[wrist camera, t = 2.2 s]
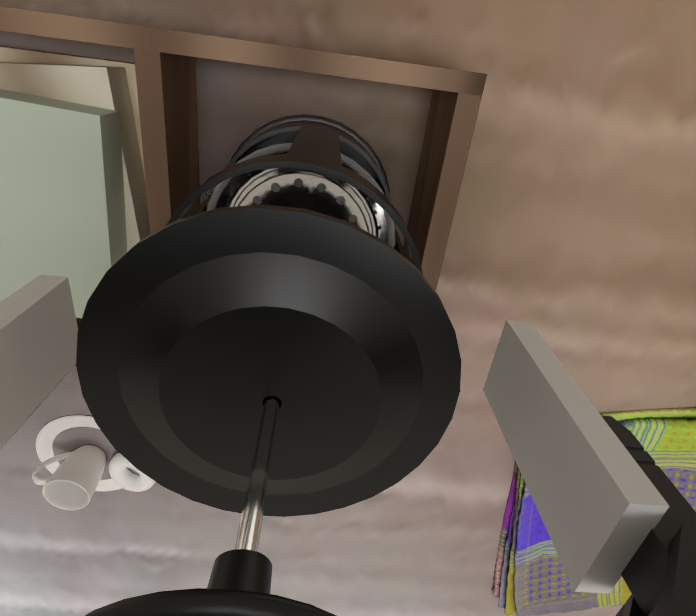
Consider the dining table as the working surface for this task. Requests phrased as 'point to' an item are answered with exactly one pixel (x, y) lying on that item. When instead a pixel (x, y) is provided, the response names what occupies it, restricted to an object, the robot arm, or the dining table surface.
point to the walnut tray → (182, 47)
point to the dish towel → (536, 545)
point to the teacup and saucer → (81, 468)
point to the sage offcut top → (59, 193)
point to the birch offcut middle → (99, 91)
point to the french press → (271, 351)
